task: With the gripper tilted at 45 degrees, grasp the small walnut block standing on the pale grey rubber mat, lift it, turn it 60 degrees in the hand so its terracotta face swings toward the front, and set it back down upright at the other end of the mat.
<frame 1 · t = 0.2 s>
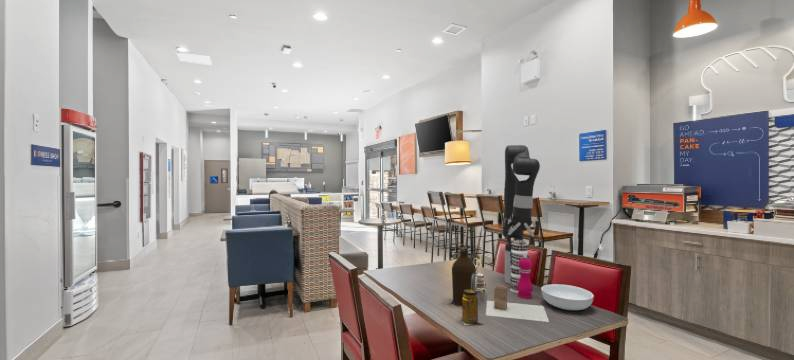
hand: (519, 244, 153), 29 cm above the table, tool pointing down, fingers open, 8 cm apart
condiment: (472, 322, 142), on the table
walnut block: (500, 308, 156), resting on rubber mat
serving bowl: (566, 307, 160), on the table
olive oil: (463, 304, 162), on the table
pepper mill: (524, 297, 171), on the table
decorative candle: (518, 290, 181), on the table
rubber mat: (515, 311, 153), on the table
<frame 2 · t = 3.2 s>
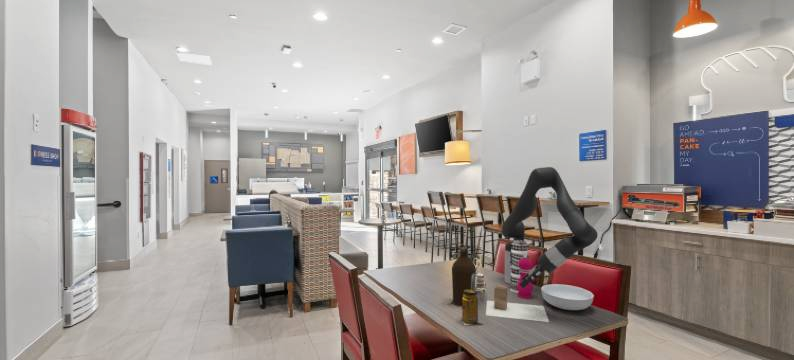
hand: (522, 283, 152), 12 cm above the table, tool tilted 45°, fingers open, 8 cm apart
nothing on the table moved.
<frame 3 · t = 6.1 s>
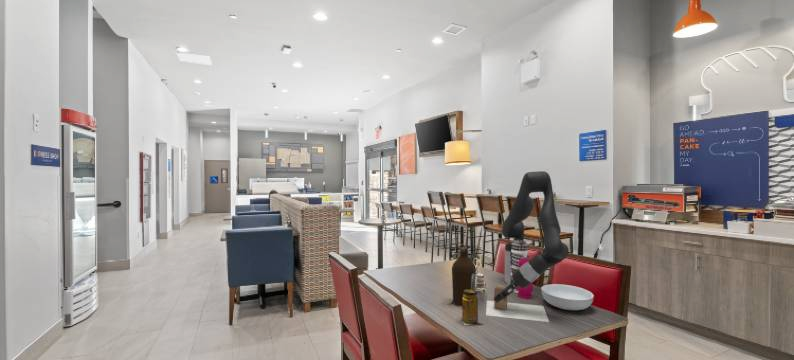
hand: (496, 298, 156), 4 cm above the table, tool tilted 45°, fingers closed on walnut block, 4 cm apart
walnut block: (500, 308, 156), resting on rubber mat, touching gripper
everything else where it was.
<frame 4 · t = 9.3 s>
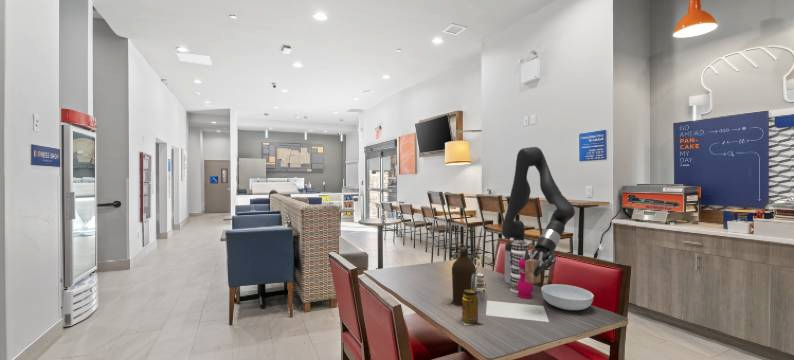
hand: (530, 273, 150), 17 cm above the table, tool tilted 45°, fingers closed on walnut block, 4 cm apart
walnut block: (532, 281, 151), point 13 cm above the table, touching gripper
everything else where it was.
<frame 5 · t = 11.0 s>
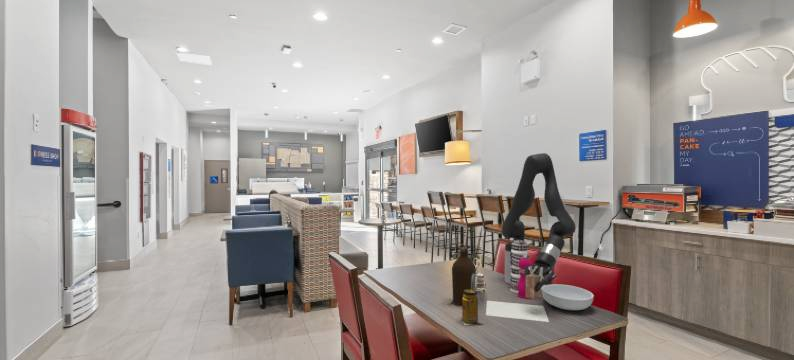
hand: (530, 289, 150), 10 cm above the table, tool tilted 45°, fingers closed on walnut block, 4 cm apart
walnut block: (533, 297, 151), point 7 cm above the table, touching gripper
everything else where it was.
when the fingers open (5 cm above the table, at t = 12.5 s): walnut block drops 1 cm, resting on rubber mat.
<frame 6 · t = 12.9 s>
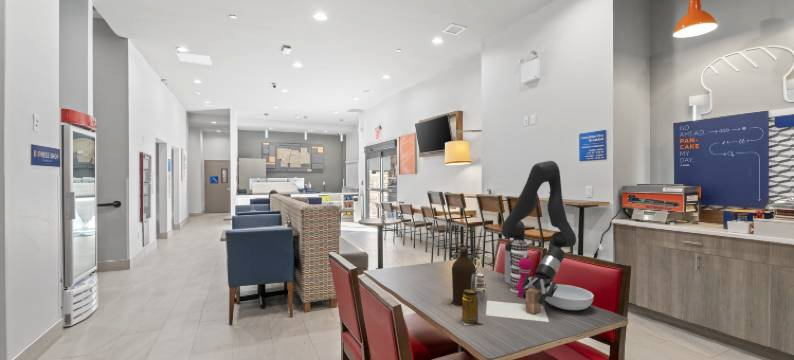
hand: (531, 300, 150), 6 cm above the table, tool tilted 45°, fingers open, 7 cm apart
walnut block: (533, 312, 151), resting on rubber mat
everything else where it was.
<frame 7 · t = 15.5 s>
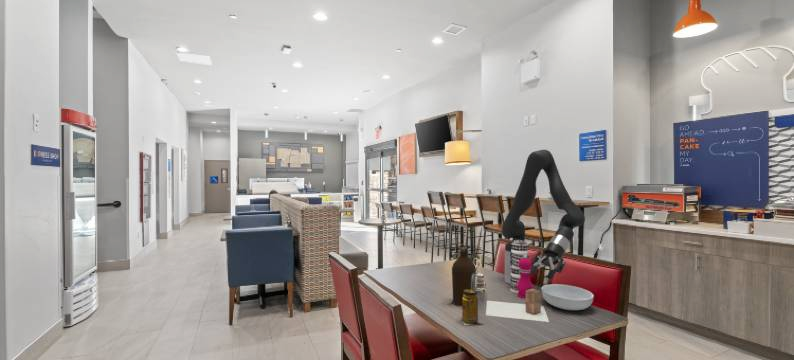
hand: (540, 276, 155), 14 cm above the table, tool tilted 45°, fingers open, 8 cm apart
nothing on the table moved.
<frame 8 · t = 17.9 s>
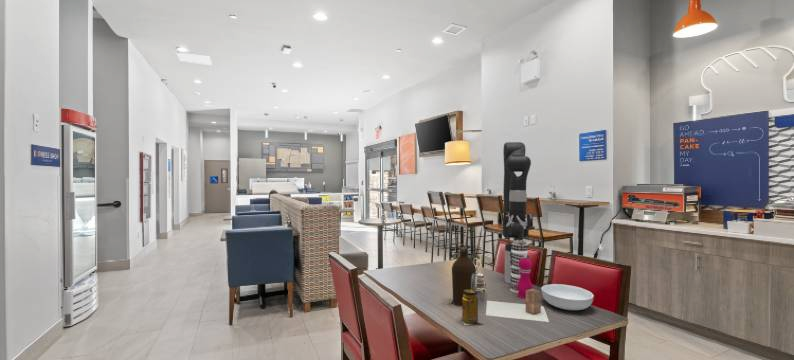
hand: (517, 236, 164), 30 cm above the table, tool pointing down, fingers open, 8 cm apart
nothing on the table moved.
at the end: walnut block inside the target area (0.0 cm from its centre), resting on rubber mat; walnut block tilted 0°; the gripper is holding nothing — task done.
